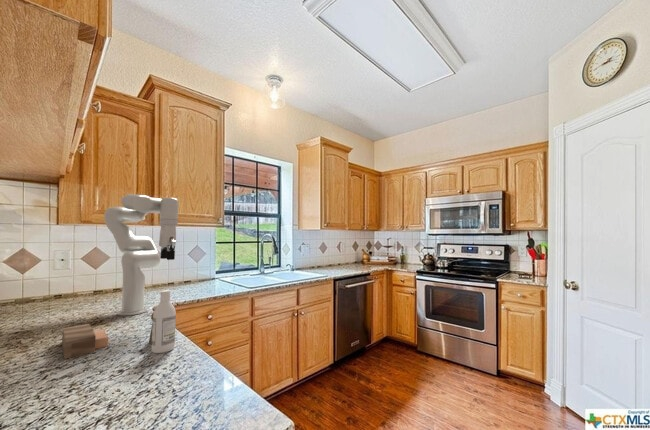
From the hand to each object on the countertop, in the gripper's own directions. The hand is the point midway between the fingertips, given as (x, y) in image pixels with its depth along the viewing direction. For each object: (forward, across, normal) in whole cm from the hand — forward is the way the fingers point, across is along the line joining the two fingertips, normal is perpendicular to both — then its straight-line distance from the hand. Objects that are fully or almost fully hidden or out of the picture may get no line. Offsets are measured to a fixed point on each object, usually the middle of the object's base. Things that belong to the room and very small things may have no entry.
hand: (167, 259), depth 133 cm
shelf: (+28, +14, -32) cm, 45 cm away
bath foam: (+28, +38, -11) cm, 49 cm away
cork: (+28, +28, -10) cm, 41 cm away
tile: (+29, +14, -29) cm, 43 cm away
